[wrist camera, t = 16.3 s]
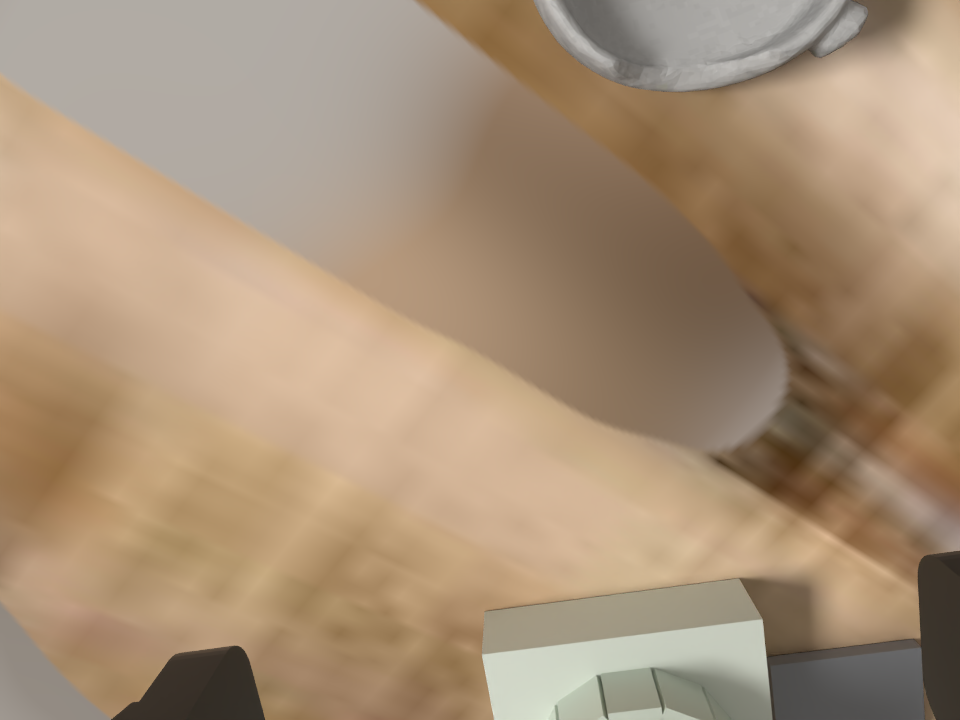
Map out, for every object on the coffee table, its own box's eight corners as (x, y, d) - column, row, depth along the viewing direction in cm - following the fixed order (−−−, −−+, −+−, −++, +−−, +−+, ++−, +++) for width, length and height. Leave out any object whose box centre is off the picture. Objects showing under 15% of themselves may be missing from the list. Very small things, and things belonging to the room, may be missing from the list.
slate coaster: (913, 638, 42) (921, 647, 41) (919, 763, 43) (927, 773, 43) (765, 656, 42) (770, 666, 42) (777, 778, 44) (782, 789, 43)
